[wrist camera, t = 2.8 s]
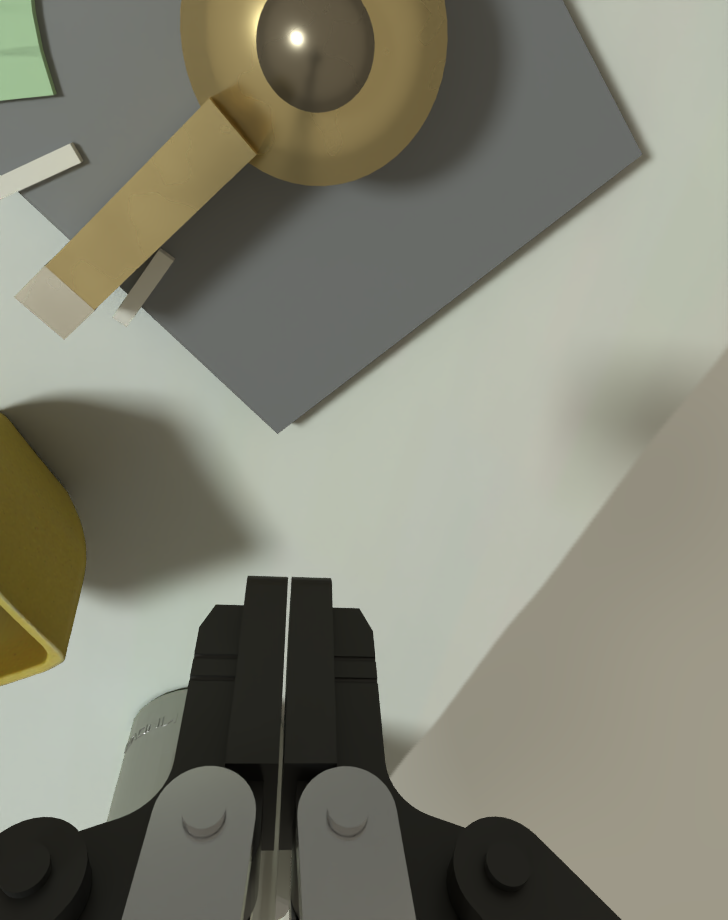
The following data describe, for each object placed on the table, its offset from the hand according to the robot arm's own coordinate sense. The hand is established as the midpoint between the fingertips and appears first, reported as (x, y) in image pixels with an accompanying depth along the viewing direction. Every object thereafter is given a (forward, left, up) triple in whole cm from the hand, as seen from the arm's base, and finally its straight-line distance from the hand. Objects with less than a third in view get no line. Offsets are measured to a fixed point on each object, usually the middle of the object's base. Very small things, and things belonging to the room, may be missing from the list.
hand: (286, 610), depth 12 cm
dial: (+6, -2, -15) cm, 16 cm away
